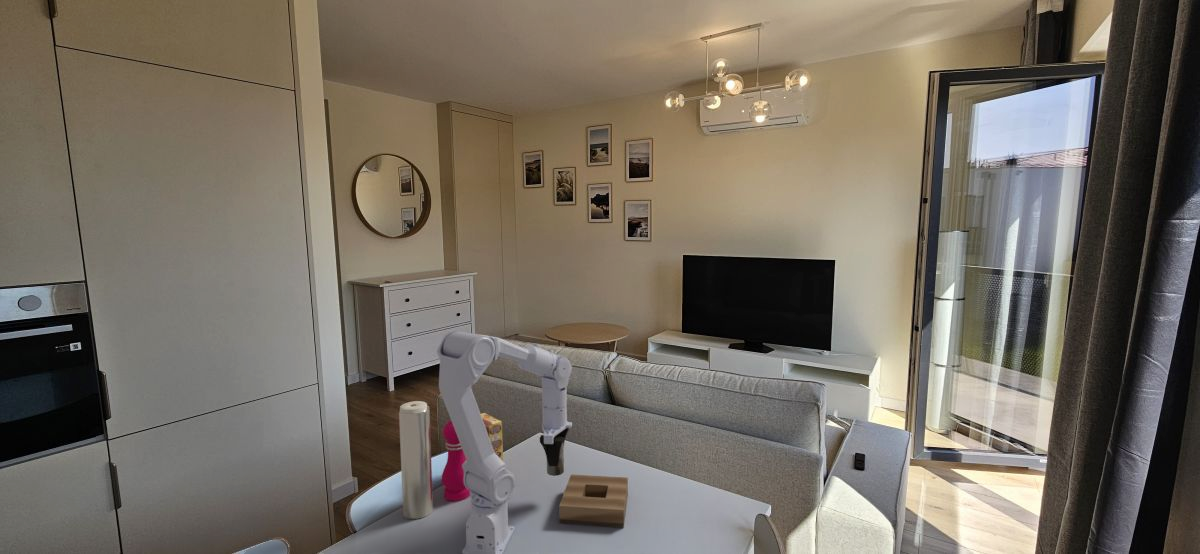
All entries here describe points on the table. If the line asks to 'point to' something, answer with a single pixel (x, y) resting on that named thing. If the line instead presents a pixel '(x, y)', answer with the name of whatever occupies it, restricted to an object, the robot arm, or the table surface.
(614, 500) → the bore block
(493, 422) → the candy box
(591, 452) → the table surface
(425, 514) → the silver cream cylinder
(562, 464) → the pin
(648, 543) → the table surface
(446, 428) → the pepper mill
